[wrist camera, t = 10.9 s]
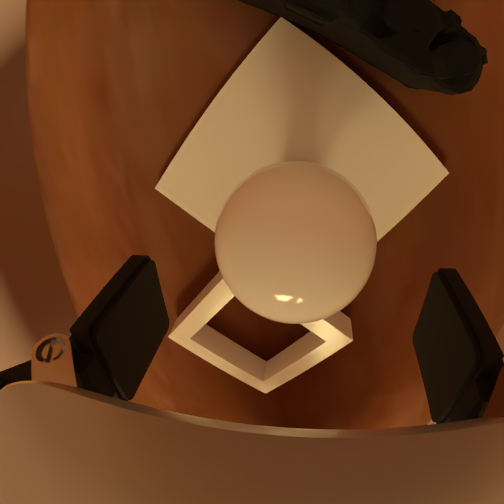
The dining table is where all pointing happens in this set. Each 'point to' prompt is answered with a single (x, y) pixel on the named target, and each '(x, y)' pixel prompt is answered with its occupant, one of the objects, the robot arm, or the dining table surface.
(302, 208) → the lightbulb
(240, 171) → the felt mat
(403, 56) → the film camera
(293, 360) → the socket collar
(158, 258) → the dining table surface
